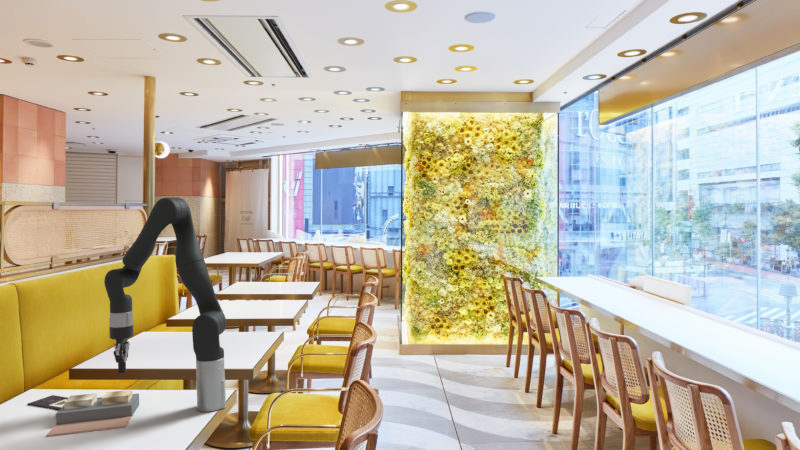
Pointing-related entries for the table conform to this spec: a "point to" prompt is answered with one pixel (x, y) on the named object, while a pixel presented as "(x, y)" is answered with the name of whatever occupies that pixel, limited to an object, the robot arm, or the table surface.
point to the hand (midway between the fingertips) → (122, 372)
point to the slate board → (98, 411)
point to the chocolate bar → (50, 402)
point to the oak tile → (117, 397)
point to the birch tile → (80, 401)
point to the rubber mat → (89, 426)
